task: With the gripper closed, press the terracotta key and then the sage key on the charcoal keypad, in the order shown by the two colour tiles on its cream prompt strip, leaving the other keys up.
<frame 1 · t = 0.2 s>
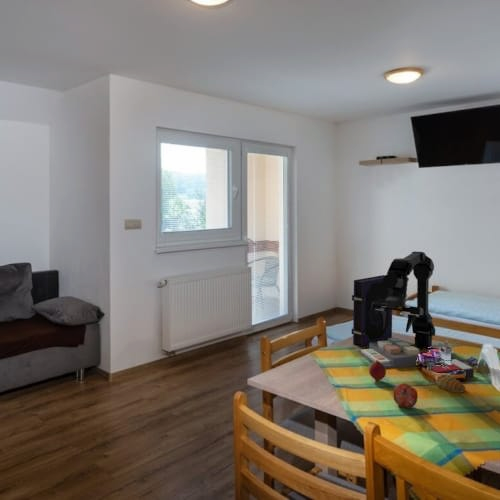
hand: (394, 330, 181), 15 cm above the table, tool pointing down, fingers open, 9 cm apart
key sage: (402, 347, 194), point 4 cm above the table, slide at 0.0 cm
pomegranate: (404, 406, 148), on the table
book: (372, 341, 219), on the table
keypad console: (392, 358, 194), on the table
onion: (377, 381, 169), on the table
key cream: (385, 345, 196), point 4 cm above the table, slide at 0.0 cm
key sand: (411, 351, 188), point 4 cm above the table, slide at 0.0 cm
key terracotta: (392, 350, 190), point 4 cm above the table, slide at 0.0 cm
calculator: (446, 375, 175), on the table
key slate: (395, 342, 200), point 4 cm above the table, slide at 0.0 cm
pastry: (450, 388, 162), on the table
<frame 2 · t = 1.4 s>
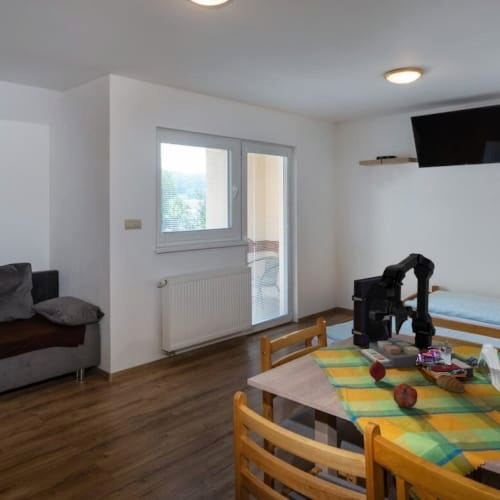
hand: (392, 335, 189), 11 cm above the table, tool pointing down, fingers open, 3 cm apart
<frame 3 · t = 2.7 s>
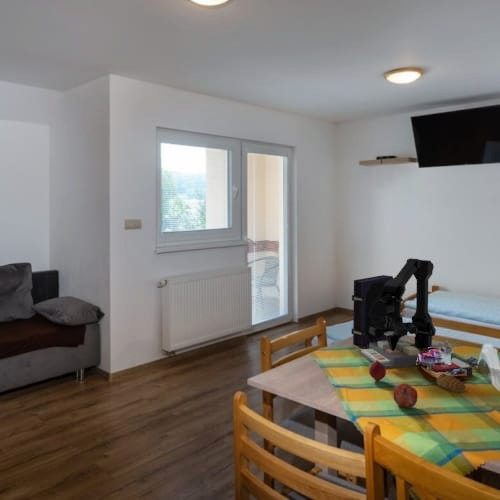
hand: (392, 350, 190), 4 cm above the table, tool pointing down, fingers closed, pressing on key terracotta
key terracotta: (392, 354, 190), point 3 cm above the table, slide at 1.5 cm, touching gripper
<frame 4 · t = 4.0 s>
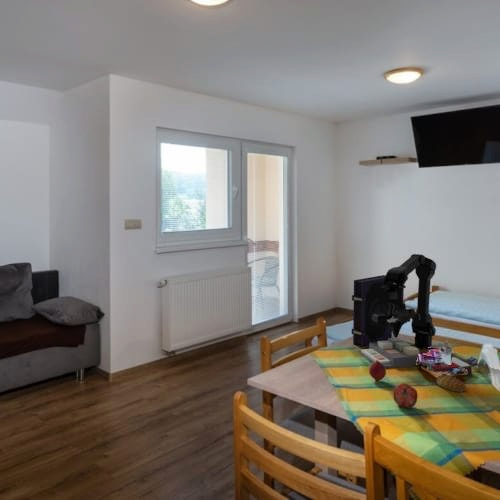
hand: (395, 337, 190), 10 cm above the table, tool pointing down, fingers closed
key terracotta: (392, 355, 190), point 3 cm above the table, slide at 1.9 cm
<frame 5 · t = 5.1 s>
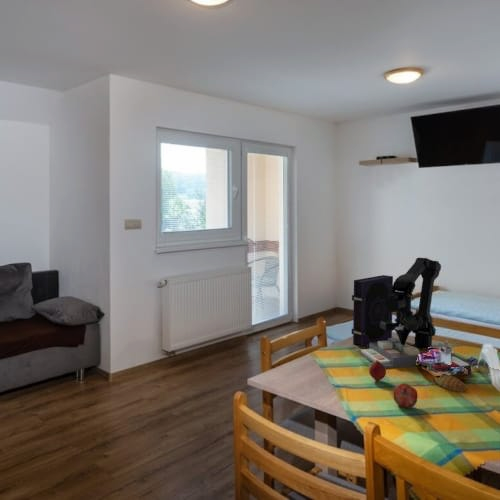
hand: (402, 344, 194), 6 cm above the table, tool pointing down, fingers closed, pressing on key sage
key sage: (402, 348, 194), point 4 cm above the table, slide at 0.5 cm, touching gripper
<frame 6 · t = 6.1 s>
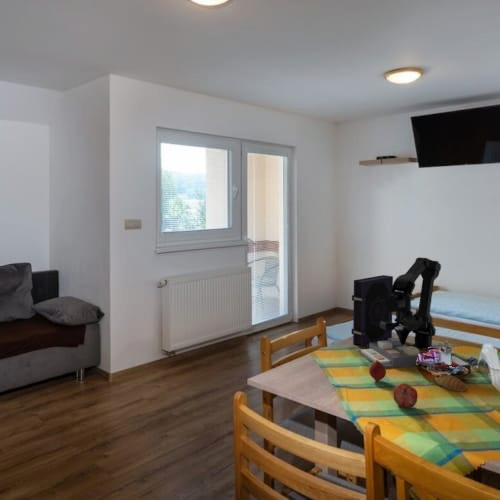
hand: (402, 344, 194), 6 cm above the table, tool pointing down, fingers closed
key sage: (402, 351, 194), point 3 cm above the table, slide at 1.9 cm
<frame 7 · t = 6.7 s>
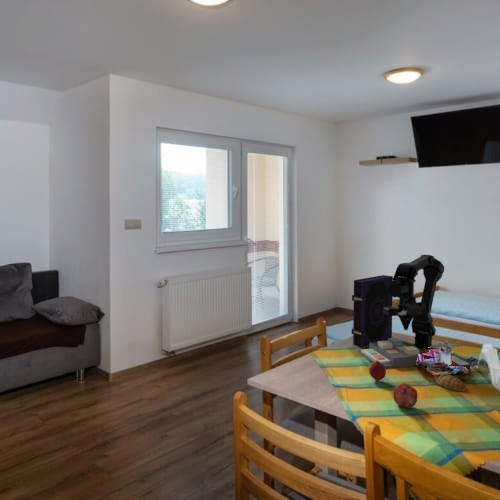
hand: (405, 329, 196), 11 cm above the table, tool pointing down, fingers closed
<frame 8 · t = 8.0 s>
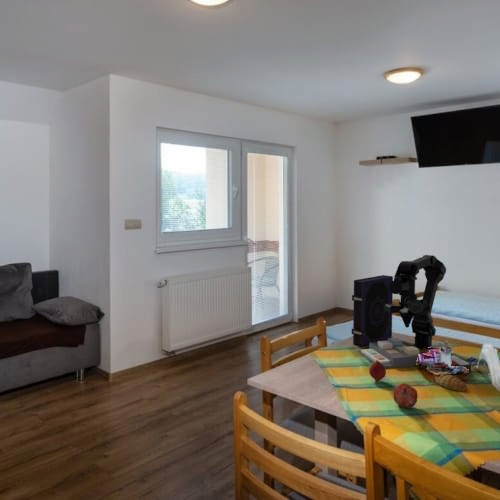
hand: (407, 327, 197), 12 cm above the table, tool pointing down, fingers closed
at the end: key terracotta slide at 1.9 cm; key sage slide at 1.9 cm; key cream slide at 0.0 cm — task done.
